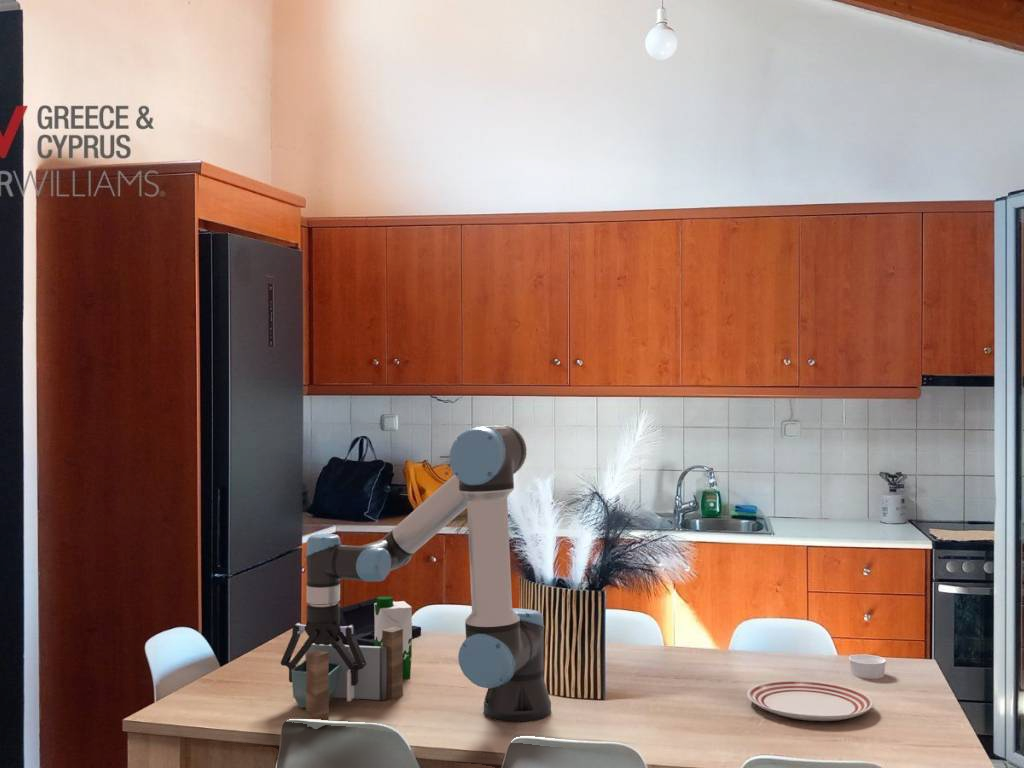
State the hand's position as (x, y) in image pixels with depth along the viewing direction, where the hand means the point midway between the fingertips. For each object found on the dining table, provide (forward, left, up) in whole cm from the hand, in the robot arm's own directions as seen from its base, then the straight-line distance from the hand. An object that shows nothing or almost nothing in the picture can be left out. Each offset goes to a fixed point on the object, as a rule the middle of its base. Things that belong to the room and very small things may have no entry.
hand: (323, 698), depth 227 cm
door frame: (-8, -2, -2) cm, 9 cm away
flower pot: (+2, +1, -2) cm, 3 cm away
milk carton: (+3, -27, -3) cm, 28 cm away
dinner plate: (-91, -62, -3) cm, 110 cm away
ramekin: (-95, -96, -3) cm, 135 cm away
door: (-8, -11, -2) cm, 14 cm away
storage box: (+31, -53, -3) cm, 61 cm away
